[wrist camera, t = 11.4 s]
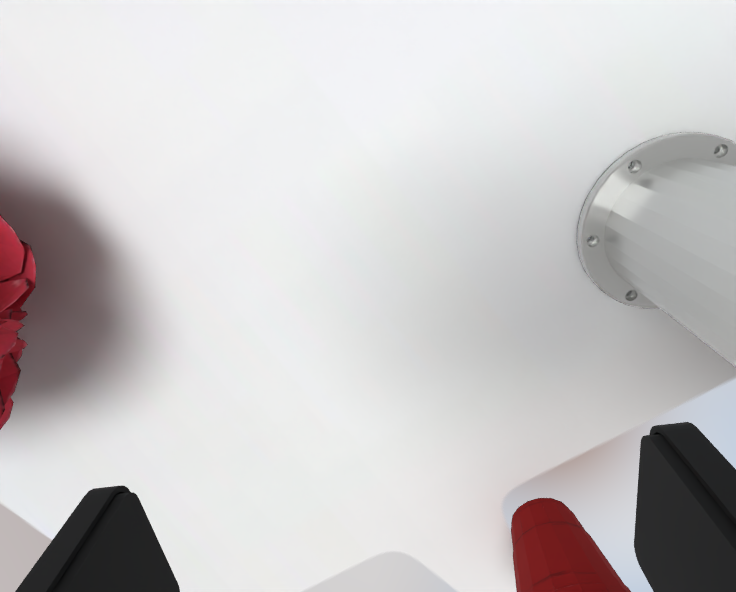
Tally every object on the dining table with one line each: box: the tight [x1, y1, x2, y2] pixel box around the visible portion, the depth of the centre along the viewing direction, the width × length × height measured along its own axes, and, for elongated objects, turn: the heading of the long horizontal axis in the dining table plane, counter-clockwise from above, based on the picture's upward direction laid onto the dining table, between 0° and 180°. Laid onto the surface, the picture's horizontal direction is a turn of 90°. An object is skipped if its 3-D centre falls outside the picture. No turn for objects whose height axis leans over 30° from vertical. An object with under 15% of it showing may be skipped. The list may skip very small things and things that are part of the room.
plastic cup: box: [511, 498, 631, 592], centre depth 41 cm, size 11×11×12 cm
